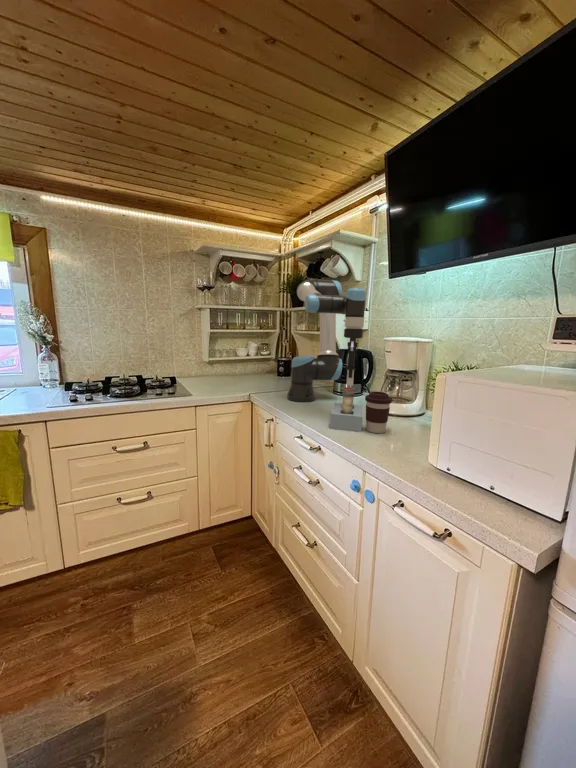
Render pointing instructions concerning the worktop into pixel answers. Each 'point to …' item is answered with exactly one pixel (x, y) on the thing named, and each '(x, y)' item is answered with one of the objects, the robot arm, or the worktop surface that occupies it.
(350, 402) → the beige cylinder
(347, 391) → the plunger red
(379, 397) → the coffee cup
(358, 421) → the plunger block
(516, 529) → the worktop surface
